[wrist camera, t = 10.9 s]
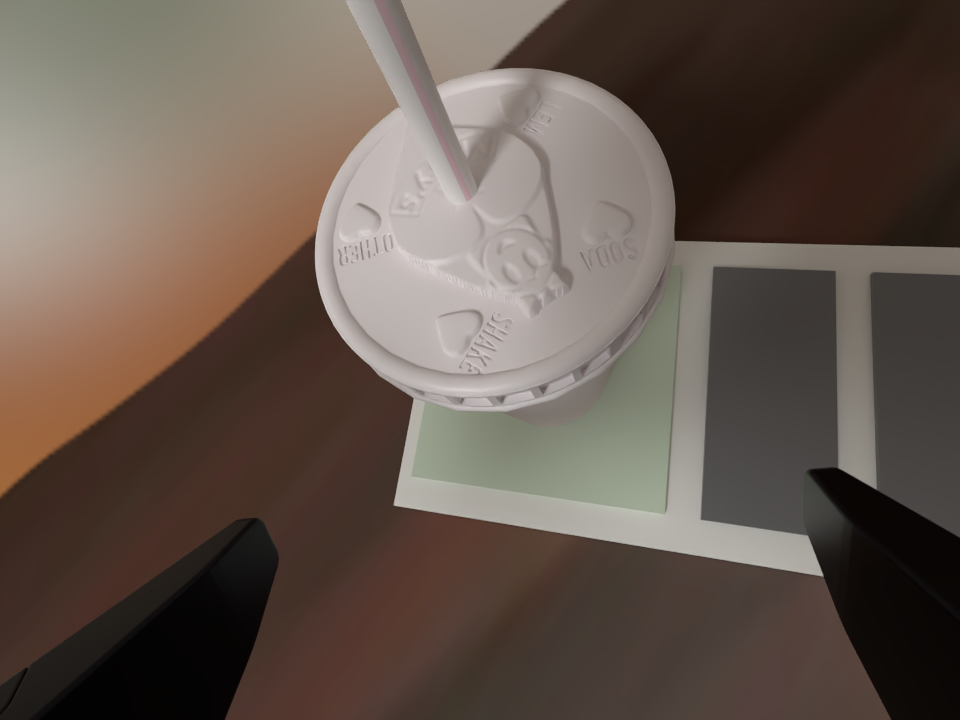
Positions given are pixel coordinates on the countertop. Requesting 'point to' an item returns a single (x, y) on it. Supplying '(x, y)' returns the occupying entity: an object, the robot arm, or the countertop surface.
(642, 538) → the board
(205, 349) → the countertop surface
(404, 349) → the smoothie
